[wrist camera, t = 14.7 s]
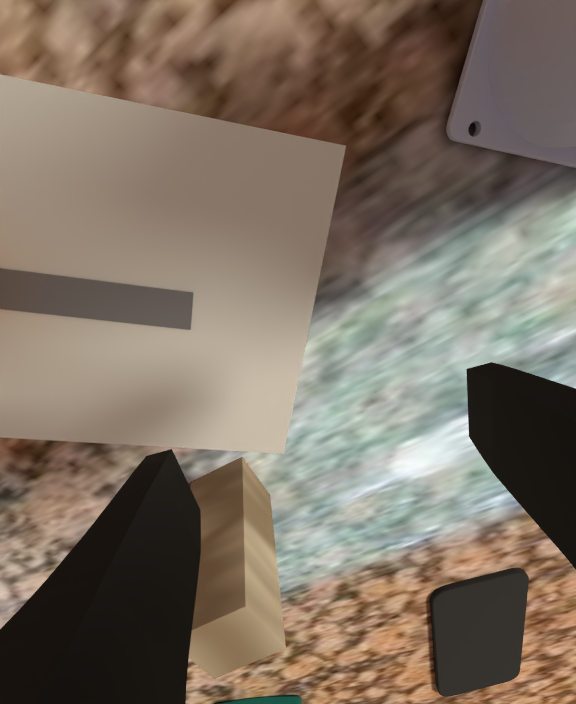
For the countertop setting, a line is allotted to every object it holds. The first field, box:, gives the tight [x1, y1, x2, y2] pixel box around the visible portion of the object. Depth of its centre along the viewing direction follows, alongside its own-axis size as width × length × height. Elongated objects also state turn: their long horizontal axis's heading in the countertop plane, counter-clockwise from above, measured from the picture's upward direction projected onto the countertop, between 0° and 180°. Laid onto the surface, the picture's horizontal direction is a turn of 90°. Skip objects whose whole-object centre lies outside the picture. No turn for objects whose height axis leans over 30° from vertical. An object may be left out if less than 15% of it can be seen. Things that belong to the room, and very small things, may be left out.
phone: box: [430, 568, 529, 697], centre depth 31 cm, size 7×1×15 cm
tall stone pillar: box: [189, 457, 286, 679], centre depth 18 cm, size 3×3×8 cm
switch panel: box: [0, 75, 346, 454], centre depth 16 cm, size 20×14×1 cm
